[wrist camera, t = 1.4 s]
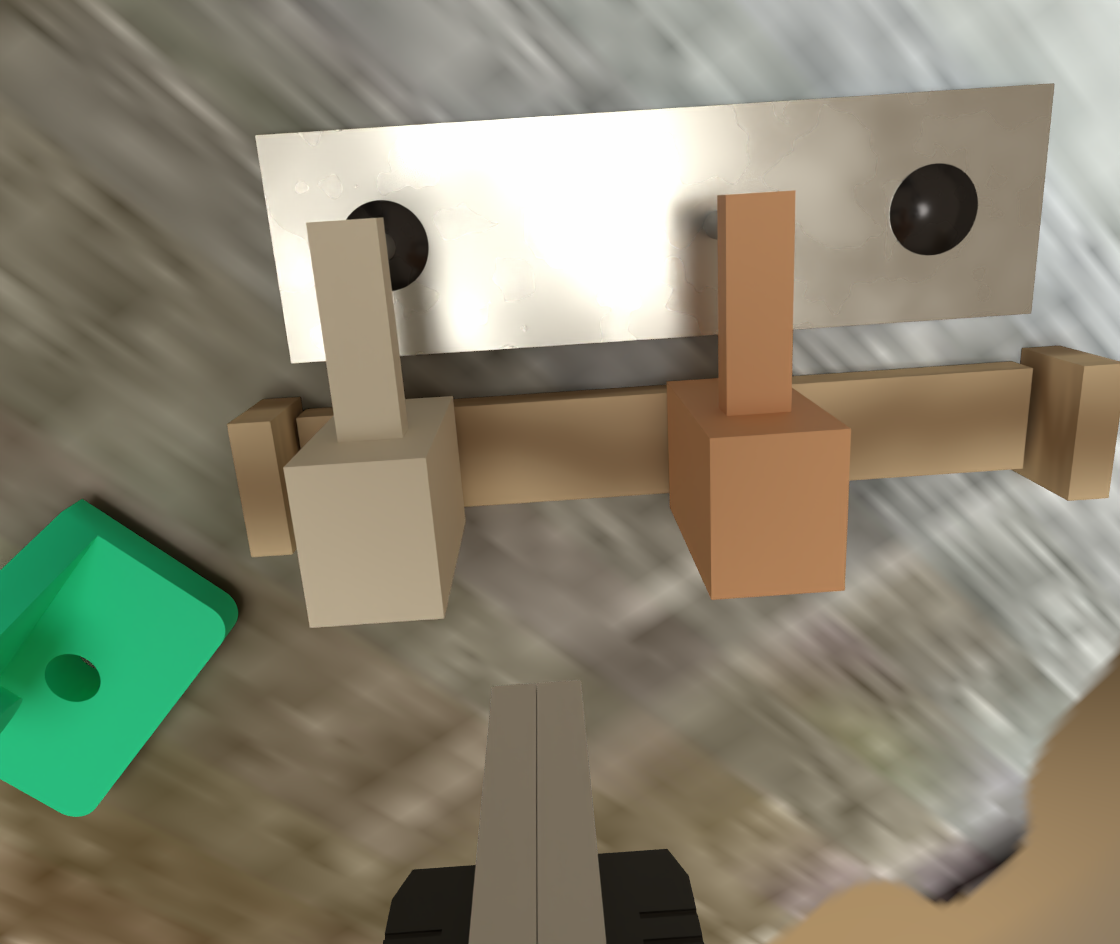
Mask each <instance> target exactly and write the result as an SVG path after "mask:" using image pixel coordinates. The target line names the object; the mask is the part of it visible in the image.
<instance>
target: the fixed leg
mask: <svg viewBox="0 0 1120 944" xmlns="http://www.w3.org/2000/svg"><path fill="white" fill-rule="evenodd" d="M306 228H307V235H308V241H309V248H310V255H311V262H312V269H313V276H314V283H315V289H316V296H317V303H318V310H319V317H320V324H321V330H322V337H323V344H324V351H325V358H326V365H327V372H328V378H329V385H330V392H331V399H332V406H333V413H334V416H333V417H332V418H331V419H330V420H329V421H328V422H327V423H326V424H325V425H324V426H323V427H322V428H321V429H320V430H319V431H318V432H317V433H316V434H315V435H314V436H313V437H312V438H311V439H310V440H309V441H308V442H307V444H306V445H305V446H304V447H303V448H302V449H301V450H300V451H299V452H298V453H297V454H296V455H295V456H294V457H293V458H292V459H291V460H290V461H289V462H288V463H287V464H286V465H285V466H284V467H283V469H284V475H285V481H286V487H287V493H288V499H289V505H290V511H291V517H292V523H293V529H294V535H295V541H296V547H297V553H298V559H299V565H300V571H301V577H302V583H303V589H304V594H305V600H306V606H307V612H308V618H309V624H310V628H313V627H328V626H342V625H356V624H371V623H385V622H399V621H414V620H428V619H442V618H444V617H445V613H446V608H447V604H448V599H449V595H450V590H451V585H452V581H453V576H454V572H455V567H456V563H457V558H458V554H459V549H460V545H461V540H462V536H463V531H464V527H465V522H466V520H465V510H464V501H463V491H462V481H461V471H460V462H459V452H458V442H457V432H456V423H455V413H454V403H453V396H446V397H431V398H416V399H405V396H404V387H403V379H402V371H401V362H400V354H399V345H398V337H397V329H396V320H395V312H394V304H393V295H392V287H391V279H390V270H389V262H388V260H390V259H391V258H392V257H393V256H394V254H395V250H396V245H395V242H394V240H393V239H392V237H391V236H389V235H388V234H386V233H385V229H384V220H383V218H367V219H352V220H337V221H322V222H307V223H306Z"/></svg>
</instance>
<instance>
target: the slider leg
mask: <svg viewBox="0 0 1120 944" xmlns="http://www.w3.org/2000/svg"><path fill="white" fill-rule="evenodd" d="M795 192H796V190H792V191H777V192H762V193H747V194H732V195H717V210H716V211H713V212H711V213H710V214H709V215H708V216H707V217H706V219H705V221H704V230H705V232H706V234H707V235H708V236H709V237H710V238H712V239H716V240H718V368H719V378H712V379H697V380H682V381H668V382H667V413H668V452H669V491H670V509H671V511H672V513H673V515H674V518H675V520H676V522H677V524H678V526H679V529H680V531H681V533H682V535H683V538H684V540H685V542H686V544H687V546H688V549H689V551H690V553H691V555H692V558H693V560H694V562H695V564H696V566H697V569H698V571H699V573H700V575H701V577H702V580H703V582H704V584H705V586H706V589H707V591H708V593H709V595H710V597H711V600H715V599H729V598H743V597H758V596H772V595H786V594H801V593H815V592H829V591H844V590H845V569H846V545H847V520H848V495H849V471H850V446H851V428H849V427H848V426H847V425H845V424H844V423H842V422H841V421H839V420H838V419H836V418H835V417H834V416H832V415H831V414H829V413H828V412H826V411H825V410H824V409H822V408H821V407H819V406H818V405H816V404H815V403H814V402H812V401H811V400H809V399H808V398H806V397H805V396H804V395H802V394H801V393H799V392H798V391H796V390H795V389H794V388H792V351H793V298H794V245H795Z"/></svg>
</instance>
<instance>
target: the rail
mask: <svg viewBox="0 0 1120 944" xmlns="http://www.w3.org/2000/svg"><path fill="white" fill-rule="evenodd" d="M792 388H794V389H795V390H796V391H798V392H799V393H801V394H802V395H804V396H805V397H806V398H808V399H809V400H811V401H812V402H814V403H815V404H816V405H818V406H819V407H821V408H822V409H824V410H825V411H826V412H828V413H829V414H831V415H832V416H834V417H835V418H836V419H838V420H839V421H841V422H842V423H844V424H845V425H847V426H848V427H849V428H851V446H850V471H849V480H863V479H878V478H892V477H907V476H921V475H936V474H950V473H965V472H979V471H994V470H1008V469H1011V470H1013V471H1015V472H1017V473H1018V474H1020V475H1022V476H1024V477H1026V478H1027V479H1029V480H1031V481H1033V482H1035V483H1037V484H1038V485H1040V486H1042V487H1044V488H1046V489H1047V490H1049V491H1051V492H1053V493H1055V494H1057V495H1058V496H1060V497H1062V498H1064V499H1066V500H1067V501H1072V500H1086V499H1101V498H1108V497H1109V490H1110V483H1111V476H1112V468H1113V461H1114V454H1115V446H1116V439H1117V432H1118V425H1119V417H1120V361H1116V360H1112V359H1109V358H1105V357H1101V356H1097V355H1093V354H1090V353H1086V352H1082V351H1078V350H1074V349H1071V348H1067V347H1063V346H1047V347H1032V348H1022V353H1021V363H1020V364H1019V363H1016V362H1013V361H1009V362H994V363H980V364H965V365H950V366H935V367H921V368H906V369H891V370H876V371H861V372H847V373H832V374H817V375H802V376H792ZM453 403H454V413H455V423H456V432H457V442H458V452H459V462H460V471H461V481H462V491H463V501H464V507H470V506H485V505H499V504H514V503H528V502H543V501H557V500H572V499H587V498H601V497H616V496H630V495H645V494H659V493H670V491H669V452H668V413H667V385H655V386H640V387H625V388H610V389H595V390H581V391H566V392H551V393H536V394H522V395H507V396H492V397H477V398H463V399H453ZM333 416H334V413H333V407H330V408H315V409H306V410H305V411H303V410H302V404H301V397H292V398H277V399H262V400H261V401H259V402H258V403H257V404H255V405H254V406H252V407H251V408H249V409H248V410H247V411H245V412H244V413H242V414H241V415H239V416H238V417H237V418H235V419H234V420H232V421H231V422H230V423H228V424H227V427H228V433H229V438H230V444H231V449H232V454H233V460H234V465H235V471H236V476H237V481H238V487H239V492H240V498H241V503H242V508H243V514H244V519H245V525H246V530H247V535H248V541H249V546H250V552H251V557H261V556H275V555H290V554H293V553H294V552H295V550H296V549H297V547H296V541H295V535H294V529H293V523H292V517H291V511H290V505H289V499H288V493H287V487H286V481H285V475H284V469H283V467H284V466H285V465H286V464H287V463H288V462H289V461H290V460H291V459H292V458H293V457H294V456H295V455H296V454H297V453H298V452H299V451H300V450H301V449H302V448H303V447H304V446H305V445H306V444H307V442H308V441H309V440H310V439H311V438H312V437H313V436H314V435H315V434H316V433H317V432H318V431H319V430H320V429H321V428H322V427H323V426H324V425H325V424H326V423H327V422H328V421H329V420H330V419H331V418H332V417H333Z"/></svg>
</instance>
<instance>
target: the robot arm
mask: <svg viewBox="0 0 1120 944" xmlns="http://www.w3.org/2000/svg"><path fill="white" fill-rule="evenodd" d="M383 944H704V942H703V938H702V932H701V928H700V923H699V919H698V915H697V913H696V906H695V902H694V897H693V893H692V888H691V884H690V880H689V876H688V874H687V873H686V872H685V871H684V869H683V868H682V867H681V866H680V864H679V863H678V862H677V860H676V859H675V858H674V857H673V855H672V854H671V853H670V852H669V850H668V849H659V850H645V851H631V852H618V853H604V854H598V852H597V842H596V832H595V821H594V811H593V801H592V790H591V780H590V770H589V759H588V749H587V739H586V728H585V718H584V708H583V697H582V687H581V680H571V681H557V682H543V683H537V688H536V683H529V684H515V685H500V686H492V692H491V703H490V714H489V725H488V736H487V747H486V758H485V769H484V780H483V791H482V802H481V813H480V824H479V835H478V846H477V857H476V865H471V866H457V867H443V868H429V869H415V870H412V872H411V873H410V875H409V876H408V877H407V879H406V880H405V882H404V883H403V885H402V886H401V887H400V889H399V890H398V892H397V893H396V895H395V896H394V897H393V899H392V902H391V907H390V912H389V916H388V921H387V926H386V931H385V940H383Z"/></svg>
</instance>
